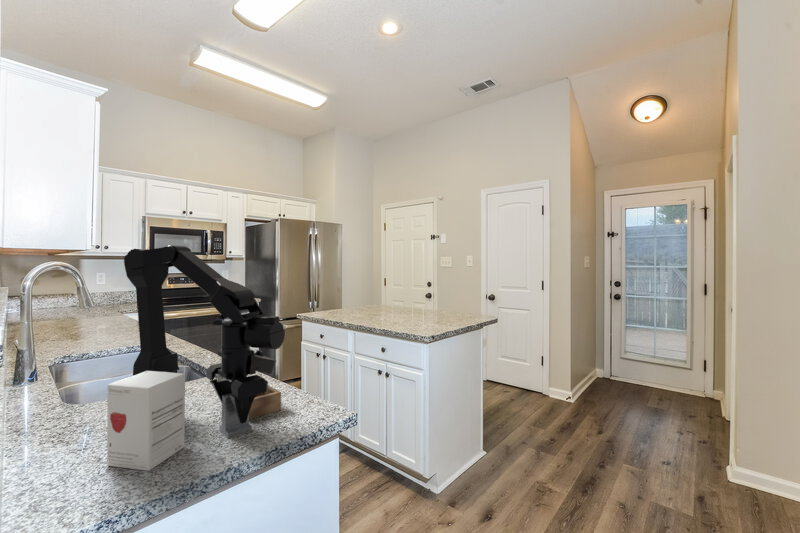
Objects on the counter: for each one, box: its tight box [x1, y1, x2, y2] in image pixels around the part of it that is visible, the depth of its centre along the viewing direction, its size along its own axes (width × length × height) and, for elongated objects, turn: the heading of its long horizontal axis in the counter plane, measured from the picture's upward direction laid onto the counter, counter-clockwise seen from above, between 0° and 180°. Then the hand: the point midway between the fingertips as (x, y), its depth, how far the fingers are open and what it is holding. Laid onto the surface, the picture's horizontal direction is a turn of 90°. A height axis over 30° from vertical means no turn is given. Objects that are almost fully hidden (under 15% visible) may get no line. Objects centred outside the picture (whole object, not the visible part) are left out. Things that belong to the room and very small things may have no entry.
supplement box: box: [106, 371, 186, 472], centre depth 70 cm, size 9×9×15 cm
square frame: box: [249, 385, 282, 421], centre depth 92 cm, size 9×9×4 cm
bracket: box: [218, 393, 253, 440], centre depth 81 cm, size 5×5×8 cm
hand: (235, 417), depth 81 cm, fingers open, 8 cm apart
